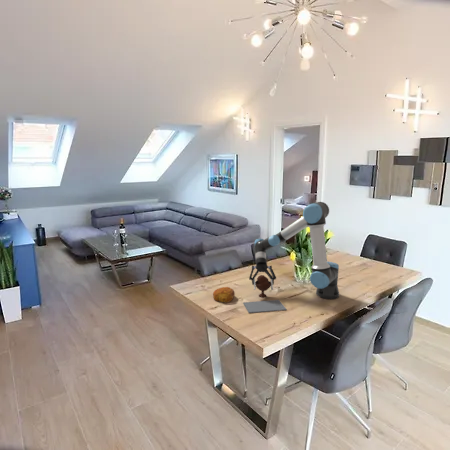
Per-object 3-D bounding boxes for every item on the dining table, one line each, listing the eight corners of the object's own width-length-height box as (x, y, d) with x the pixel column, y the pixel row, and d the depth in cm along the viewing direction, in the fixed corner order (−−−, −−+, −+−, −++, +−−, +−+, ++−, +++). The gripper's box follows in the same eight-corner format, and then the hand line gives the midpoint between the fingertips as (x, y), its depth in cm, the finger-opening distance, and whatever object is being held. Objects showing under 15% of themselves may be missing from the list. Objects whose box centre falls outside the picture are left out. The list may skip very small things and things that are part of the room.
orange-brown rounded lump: (236, 297, 229) (237, 286, 229) (231, 304, 214) (232, 292, 214) (215, 295, 233) (216, 283, 232) (209, 301, 218) (210, 289, 217)
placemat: (278, 300, 220) (278, 299, 220) (286, 310, 207) (286, 309, 207) (243, 303, 216) (243, 302, 216) (248, 313, 202) (248, 312, 202)
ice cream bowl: (270, 300, 221) (271, 278, 218) (253, 298, 223) (254, 277, 220) (271, 293, 231) (272, 273, 228) (255, 292, 233) (255, 271, 230)
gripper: (276, 261, 239) (280, 291, 227) (244, 262, 238) (245, 291, 226) (278, 257, 233) (281, 286, 221) (244, 257, 232) (246, 286, 220)
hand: (263, 289), depth 223 cm, fingers closed on ice cream bowl, 11 cm apart
